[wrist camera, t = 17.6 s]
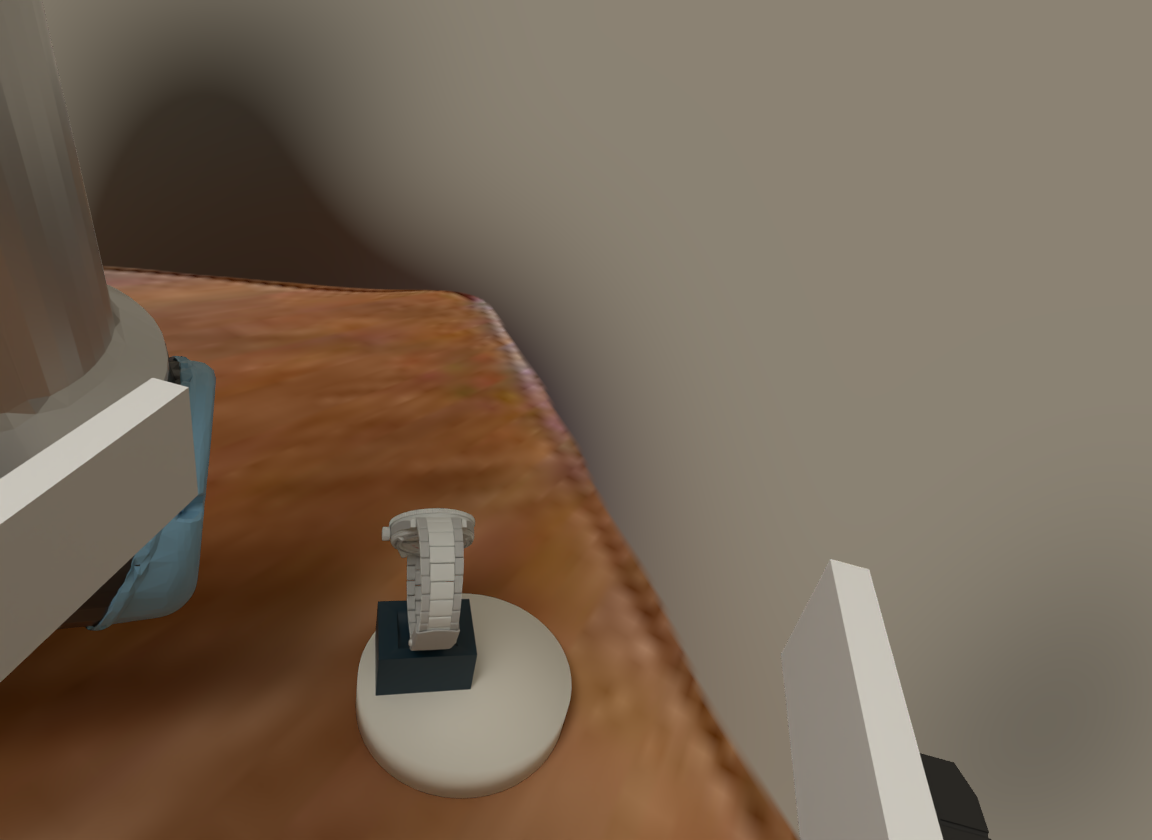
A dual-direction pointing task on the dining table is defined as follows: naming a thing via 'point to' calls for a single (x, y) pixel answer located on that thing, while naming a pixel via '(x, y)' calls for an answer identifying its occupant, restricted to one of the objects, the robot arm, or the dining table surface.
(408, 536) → the watch
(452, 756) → the display plinth
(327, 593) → the dining table surface
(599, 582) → the dining table surface
